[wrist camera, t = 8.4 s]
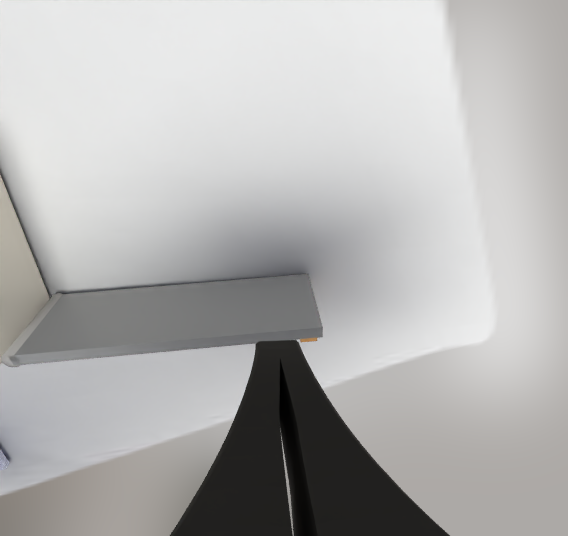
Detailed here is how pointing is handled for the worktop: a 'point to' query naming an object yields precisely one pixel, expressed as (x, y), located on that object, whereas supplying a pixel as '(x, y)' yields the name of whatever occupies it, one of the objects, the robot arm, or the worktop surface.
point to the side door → (168, 319)
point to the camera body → (16, 277)
